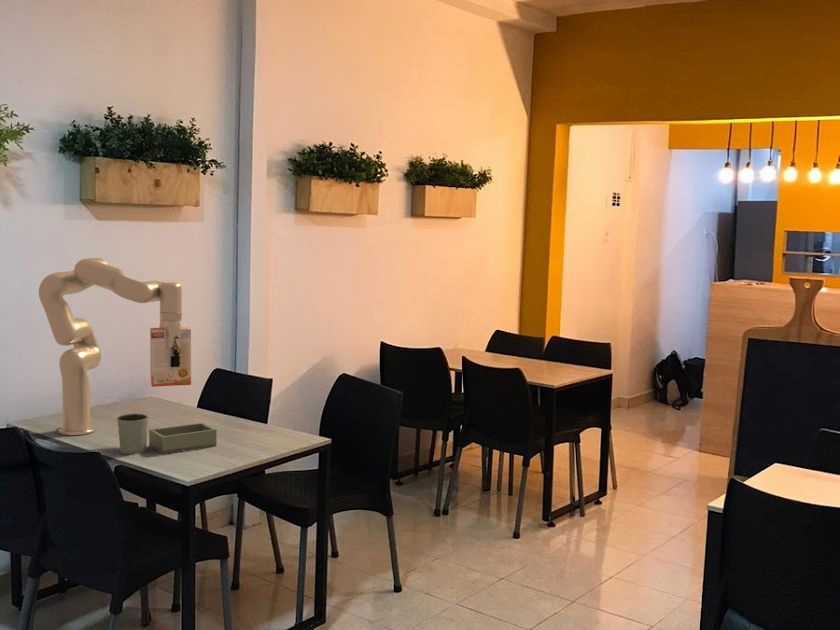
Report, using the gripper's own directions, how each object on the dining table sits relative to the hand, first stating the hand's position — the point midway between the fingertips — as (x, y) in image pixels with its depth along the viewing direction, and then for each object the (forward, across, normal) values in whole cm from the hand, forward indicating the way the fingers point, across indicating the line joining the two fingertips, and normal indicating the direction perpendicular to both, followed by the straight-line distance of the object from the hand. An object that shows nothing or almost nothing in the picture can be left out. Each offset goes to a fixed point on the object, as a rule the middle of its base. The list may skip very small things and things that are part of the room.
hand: (170, 364), depth 308 cm
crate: (+28, +11, 0) cm, 30 cm away
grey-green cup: (+28, +8, -17) cm, 34 cm away
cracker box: (+8, 0, 0) cm, 8 cm away
